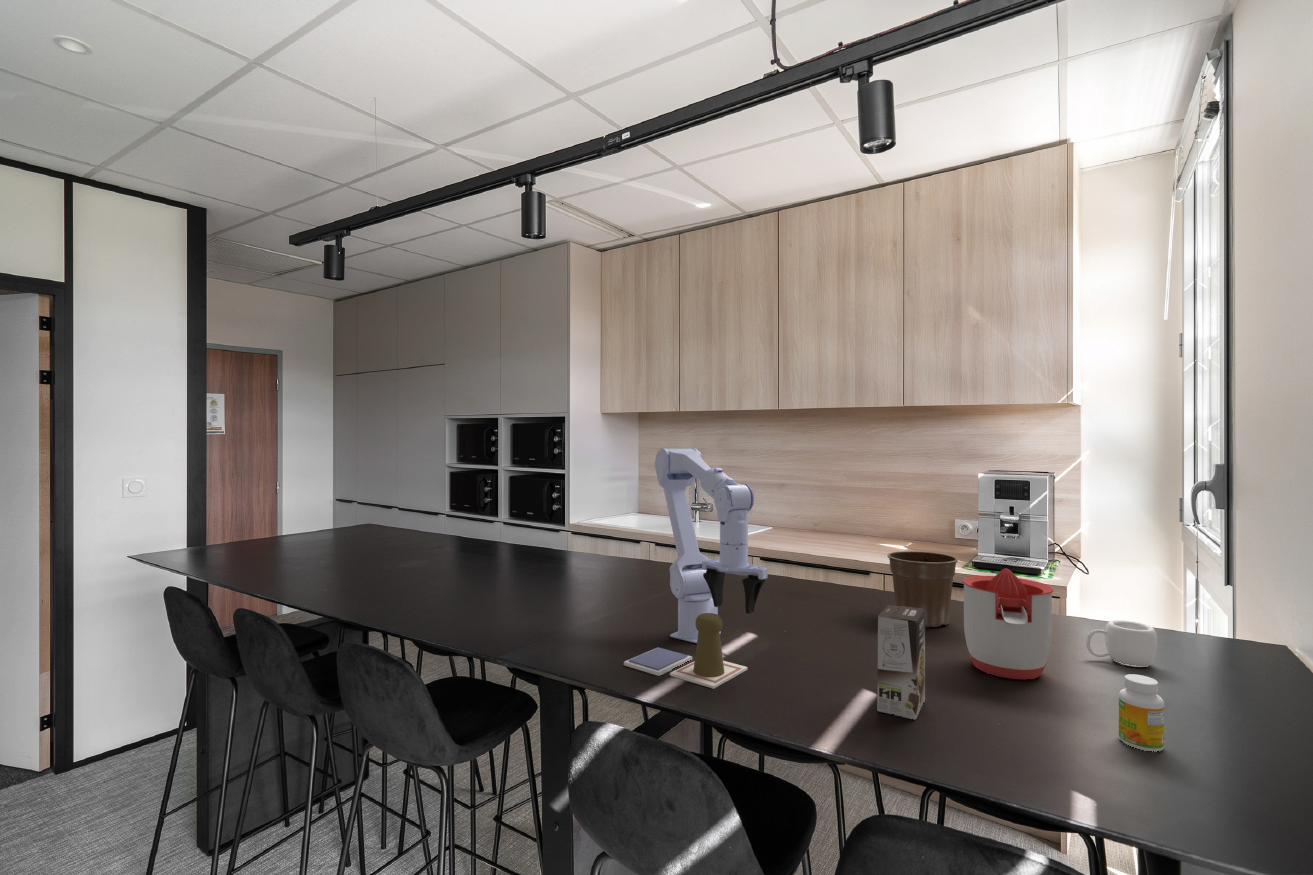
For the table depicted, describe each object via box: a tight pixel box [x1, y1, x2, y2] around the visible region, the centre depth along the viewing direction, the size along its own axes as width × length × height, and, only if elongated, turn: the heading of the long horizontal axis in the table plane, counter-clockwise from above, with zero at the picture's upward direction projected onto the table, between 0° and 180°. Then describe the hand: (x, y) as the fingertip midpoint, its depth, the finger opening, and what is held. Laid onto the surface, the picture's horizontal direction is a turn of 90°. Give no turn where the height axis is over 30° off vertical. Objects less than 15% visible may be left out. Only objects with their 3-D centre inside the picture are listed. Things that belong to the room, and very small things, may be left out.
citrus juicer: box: [961, 568, 1054, 680], centre depth 122 cm, size 16×17×20 cm
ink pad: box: [623, 647, 693, 677], centre depth 127 cm, size 11×9×1 cm
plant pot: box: [886, 550, 959, 628], centre depth 156 cm, size 16×16×16 cm
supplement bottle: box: [1118, 673, 1165, 753], centre depth 93 cm, size 5×5×10 cm
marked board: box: [669, 660, 748, 690], centre depth 121 cm, size 12×10×1 cm
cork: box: [693, 613, 725, 677], centre depth 121 cm, size 6×6×11 cm
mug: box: [1085, 619, 1158, 666], centre depth 127 cm, size 12×8×8 cm
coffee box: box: [876, 604, 926, 720], centre depth 106 cm, size 9×6×16 cm
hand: (733, 609), depth 128 cm, fingers open, 7 cm apart
